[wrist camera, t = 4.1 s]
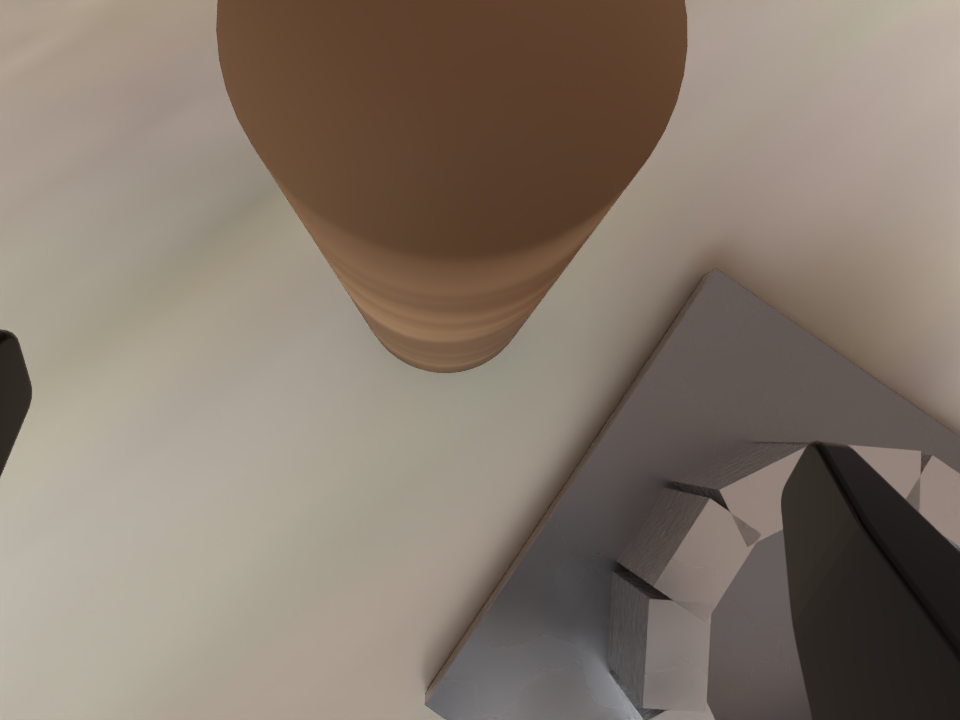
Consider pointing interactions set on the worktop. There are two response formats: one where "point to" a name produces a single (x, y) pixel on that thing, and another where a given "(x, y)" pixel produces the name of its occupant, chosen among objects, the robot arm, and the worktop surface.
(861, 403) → the bracket
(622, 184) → the brown wooden cylinder
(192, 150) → the worktop surface
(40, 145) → the worktop surface
